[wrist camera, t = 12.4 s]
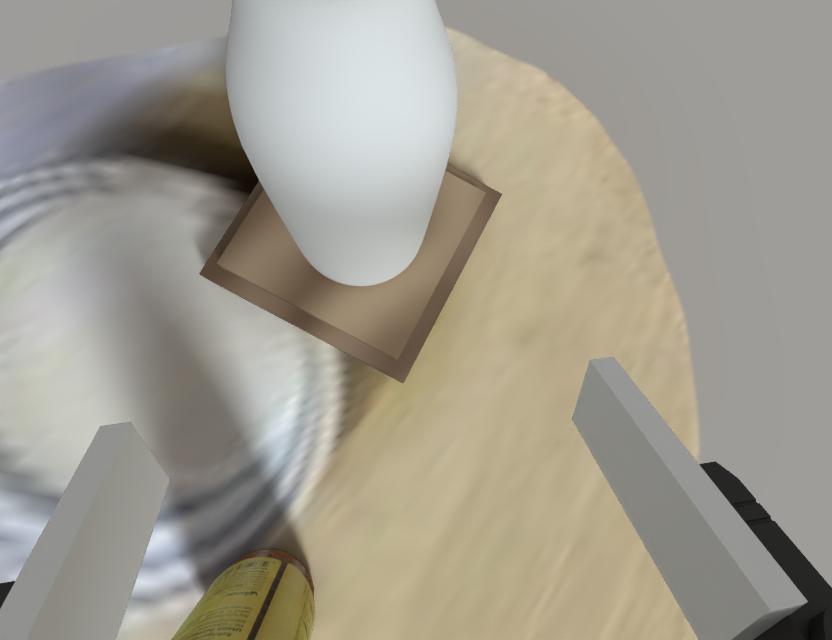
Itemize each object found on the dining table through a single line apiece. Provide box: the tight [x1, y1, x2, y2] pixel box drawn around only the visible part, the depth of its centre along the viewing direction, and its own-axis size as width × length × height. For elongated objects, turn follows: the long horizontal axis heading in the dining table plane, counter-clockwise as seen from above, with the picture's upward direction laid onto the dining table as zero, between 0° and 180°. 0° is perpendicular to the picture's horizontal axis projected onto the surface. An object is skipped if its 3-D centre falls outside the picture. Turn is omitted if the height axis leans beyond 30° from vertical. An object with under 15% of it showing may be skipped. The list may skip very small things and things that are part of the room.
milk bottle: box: [226, 0, 457, 286], centre depth 16 cm, size 8×8×20 cm
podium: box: [199, 165, 502, 383], centre depth 27 cm, size 14×14×3 cm
